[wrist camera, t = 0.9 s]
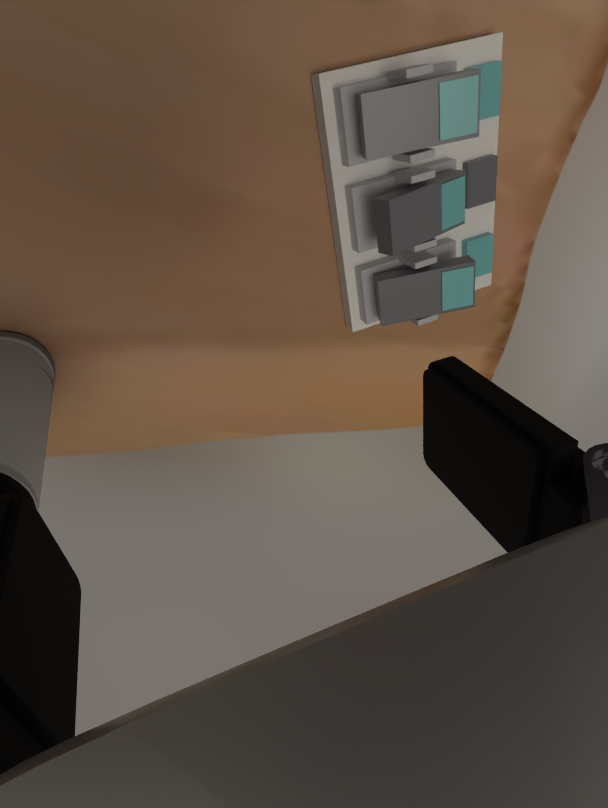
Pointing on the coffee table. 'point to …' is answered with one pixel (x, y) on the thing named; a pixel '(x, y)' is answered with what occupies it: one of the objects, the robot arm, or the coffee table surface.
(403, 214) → the rocker middle
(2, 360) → the travel mug
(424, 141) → the rocker nearest
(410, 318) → the rocker
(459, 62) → the switch unit
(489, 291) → the coffee table surface
